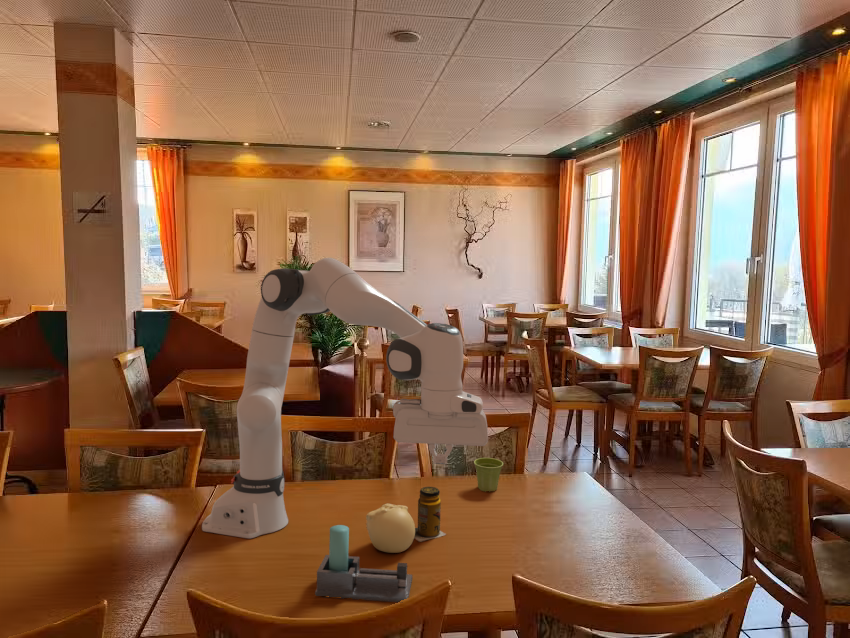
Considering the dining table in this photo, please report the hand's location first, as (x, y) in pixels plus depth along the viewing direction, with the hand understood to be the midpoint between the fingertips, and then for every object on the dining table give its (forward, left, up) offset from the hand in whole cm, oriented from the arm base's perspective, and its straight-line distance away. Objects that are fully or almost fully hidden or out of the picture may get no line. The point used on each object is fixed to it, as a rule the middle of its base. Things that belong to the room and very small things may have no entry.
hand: (440, 463), depth 133 cm
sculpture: (-13, +20, -29) cm, 38 cm away
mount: (-16, 0, -29) cm, 33 cm away
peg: (-22, 0, -28) cm, 36 cm away
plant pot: (+12, +64, -29) cm, 71 cm away
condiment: (-5, +29, -29) cm, 42 cm away
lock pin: (-13, 0, -28) cm, 31 cm away
